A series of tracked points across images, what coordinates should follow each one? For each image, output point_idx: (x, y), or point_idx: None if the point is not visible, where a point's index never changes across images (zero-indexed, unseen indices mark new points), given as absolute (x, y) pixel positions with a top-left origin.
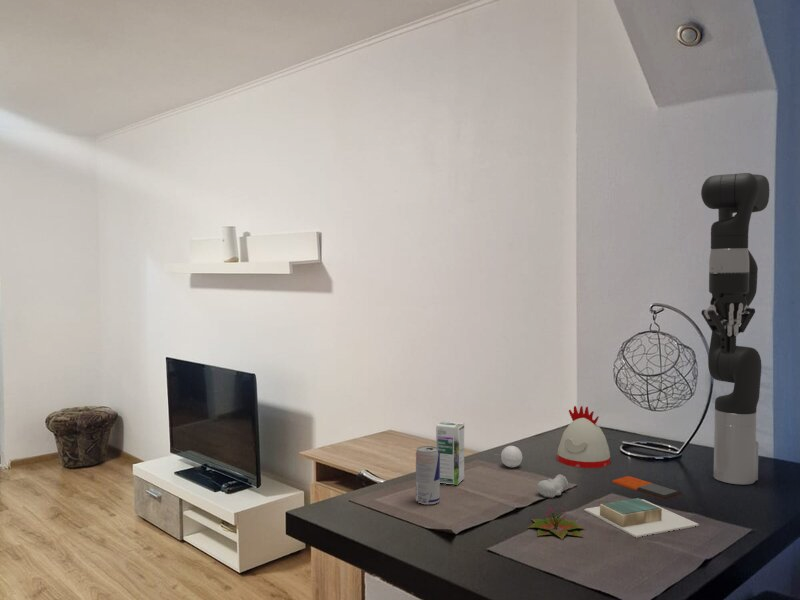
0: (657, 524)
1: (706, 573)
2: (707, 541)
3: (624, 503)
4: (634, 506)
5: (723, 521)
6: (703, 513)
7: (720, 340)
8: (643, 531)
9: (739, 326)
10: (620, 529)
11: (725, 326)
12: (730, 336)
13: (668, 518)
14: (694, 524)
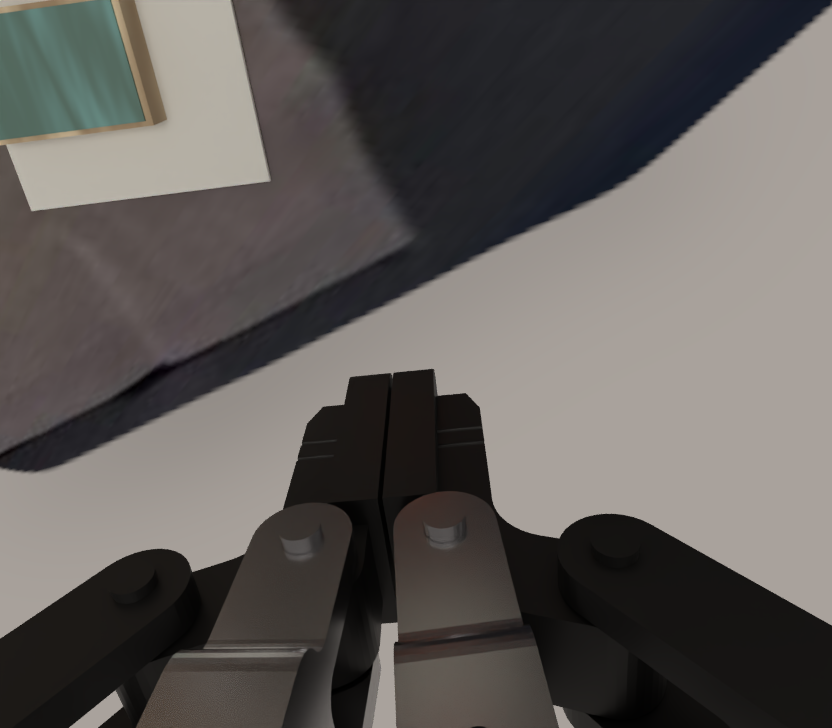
0: (136, 148)
1: (122, 421)
2: (228, 281)
3: (34, 43)
4: (61, 84)
5: (373, 165)
6: (358, 82)
7: (289, 489)
8: (67, 188)
9: (627, 703)
10: None
11: (398, 623)
12: (385, 603)
13: (199, 110)
14: (253, 181)
